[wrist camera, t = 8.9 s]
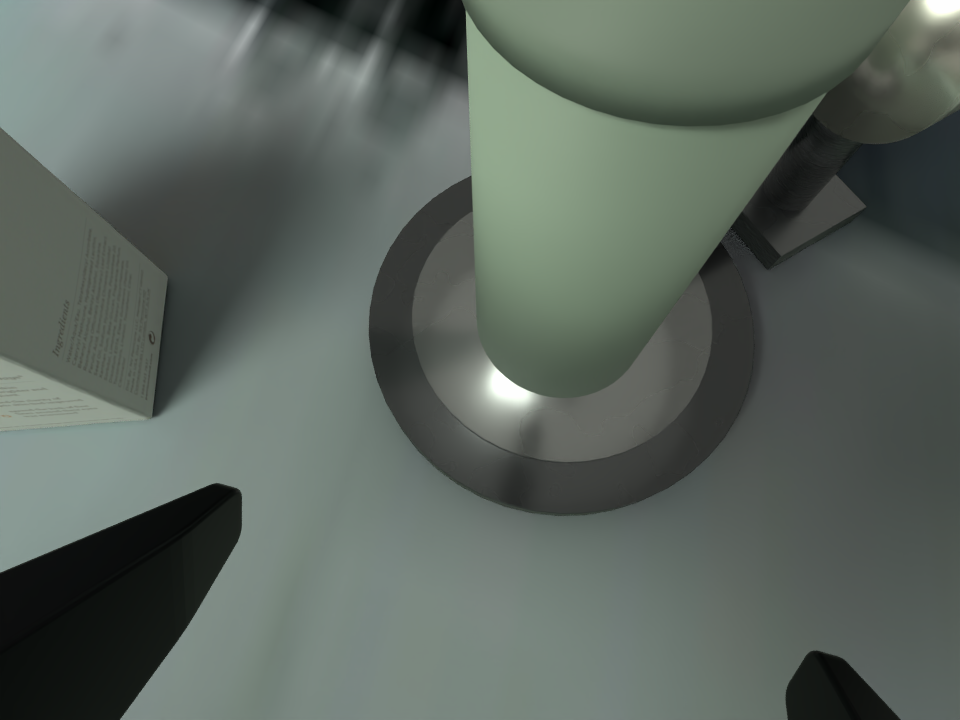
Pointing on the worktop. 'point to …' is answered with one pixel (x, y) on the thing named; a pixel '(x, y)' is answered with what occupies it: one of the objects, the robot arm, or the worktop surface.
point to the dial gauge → (856, 130)
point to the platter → (541, 419)
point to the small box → (70, 307)
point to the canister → (628, 158)
